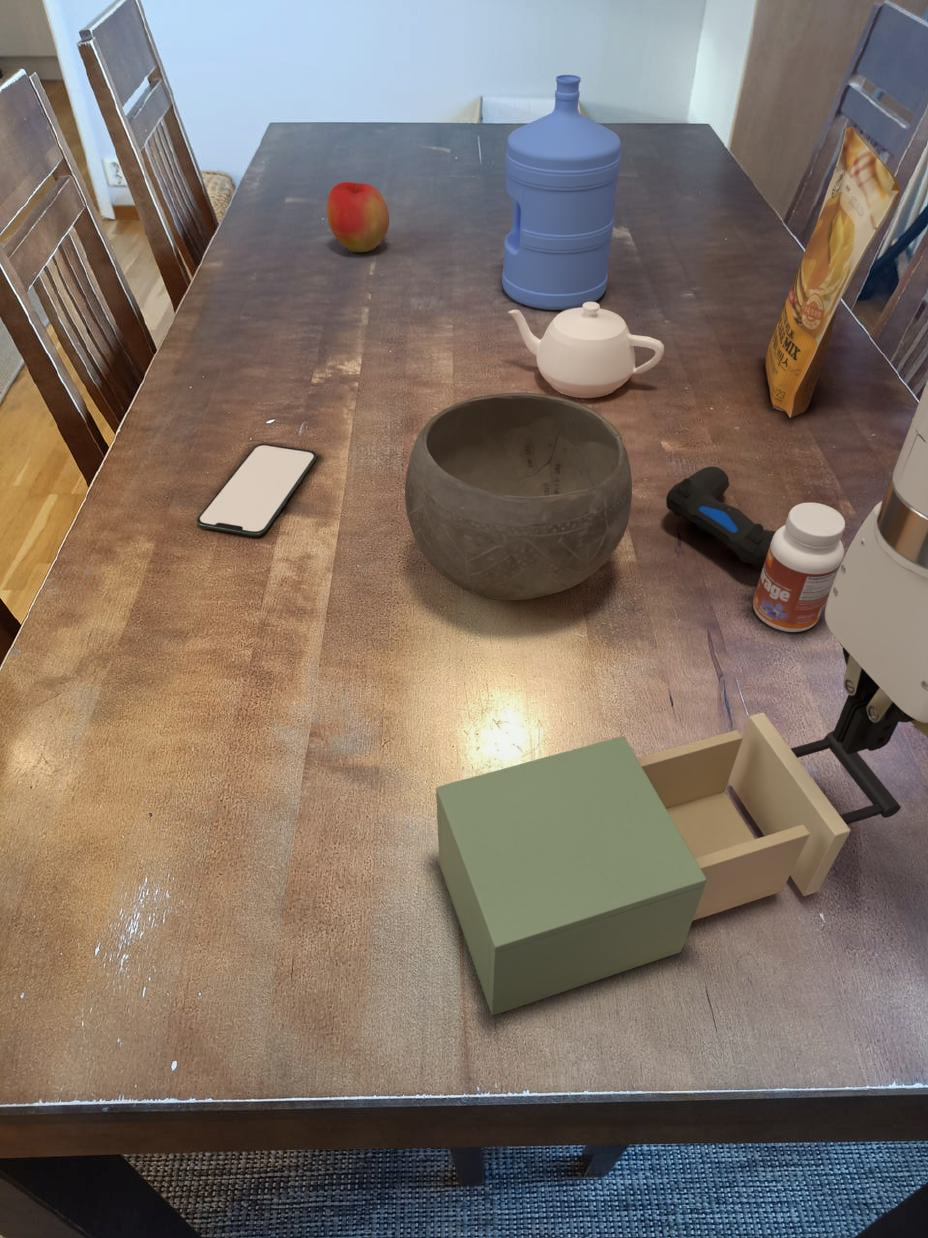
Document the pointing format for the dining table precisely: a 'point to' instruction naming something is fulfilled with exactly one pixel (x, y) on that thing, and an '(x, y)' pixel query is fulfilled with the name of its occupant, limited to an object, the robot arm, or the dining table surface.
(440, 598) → the dining table surface
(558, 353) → the teapot
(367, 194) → the apple
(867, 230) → the pancake mix bag
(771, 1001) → the dining table surface
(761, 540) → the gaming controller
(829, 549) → the pill bottle
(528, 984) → the cabinet
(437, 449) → the bowl
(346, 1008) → the dining table surface
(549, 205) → the water jug
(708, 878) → the drawer
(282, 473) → the smartphone
